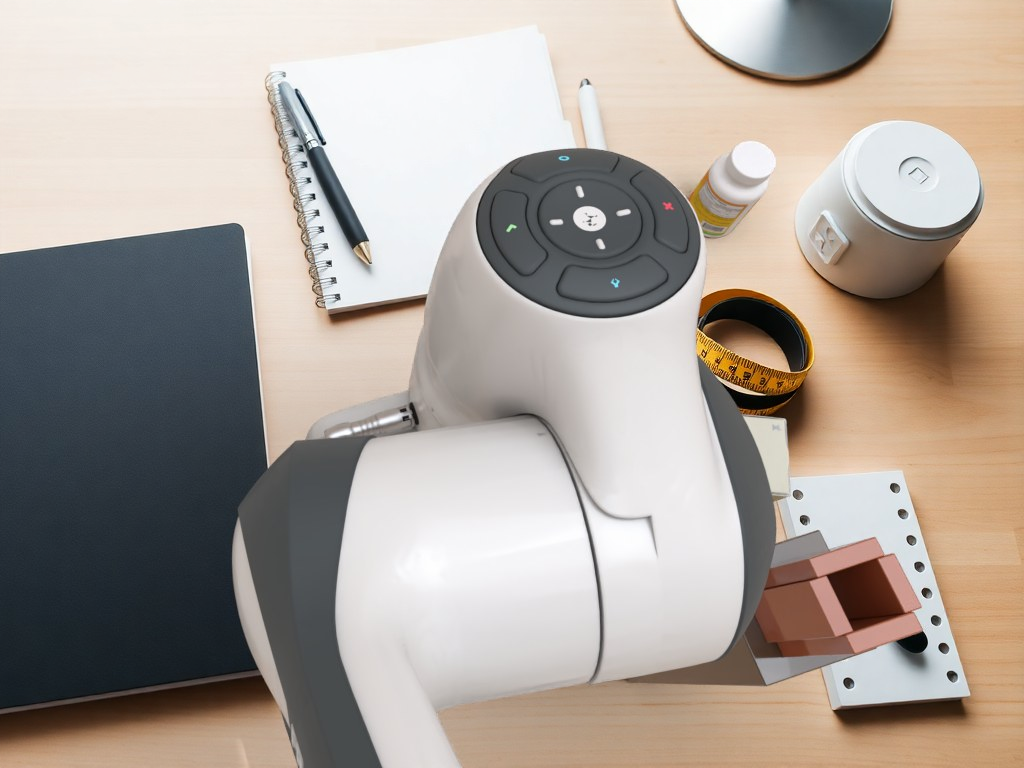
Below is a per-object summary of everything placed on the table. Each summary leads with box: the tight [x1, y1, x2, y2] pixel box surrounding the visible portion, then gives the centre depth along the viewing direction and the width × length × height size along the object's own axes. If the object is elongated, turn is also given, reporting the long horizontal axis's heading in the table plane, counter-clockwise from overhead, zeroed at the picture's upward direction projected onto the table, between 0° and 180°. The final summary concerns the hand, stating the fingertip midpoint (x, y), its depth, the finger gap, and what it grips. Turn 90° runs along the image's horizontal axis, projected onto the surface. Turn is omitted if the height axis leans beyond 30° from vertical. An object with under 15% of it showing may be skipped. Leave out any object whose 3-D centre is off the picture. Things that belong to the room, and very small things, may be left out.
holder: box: [626, 529, 924, 687], centre depth 55 cm, size 7×7×31 cm
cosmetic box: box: [741, 413, 792, 503], centre depth 68 cm, size 6×4×12 cm
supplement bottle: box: [687, 140, 777, 239], centre depth 79 cm, size 5×5×10 cm
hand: (462, 455), depth 54 cm, fingers closed
